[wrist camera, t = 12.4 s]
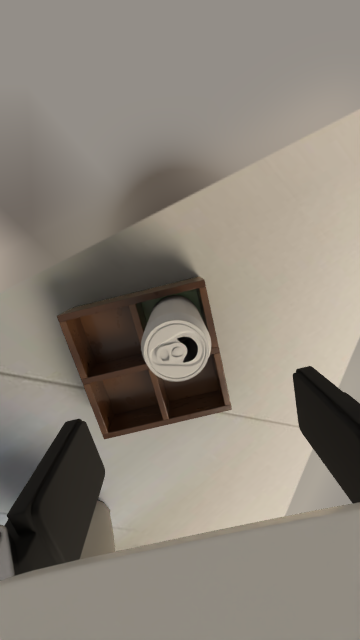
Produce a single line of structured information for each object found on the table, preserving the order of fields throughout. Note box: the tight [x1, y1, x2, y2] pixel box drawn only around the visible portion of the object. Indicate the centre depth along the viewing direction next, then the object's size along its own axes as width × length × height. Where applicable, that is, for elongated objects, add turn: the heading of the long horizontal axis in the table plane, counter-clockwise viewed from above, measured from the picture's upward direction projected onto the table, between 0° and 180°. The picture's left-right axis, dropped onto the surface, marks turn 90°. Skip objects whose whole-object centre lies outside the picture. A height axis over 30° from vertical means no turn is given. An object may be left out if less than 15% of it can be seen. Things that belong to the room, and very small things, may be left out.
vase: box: [80, 501, 115, 559], centre depth 29 cm, size 14×14×25 cm
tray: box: [57, 277, 232, 439], centre depth 32 cm, size 17×17×5 cm
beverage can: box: [141, 295, 211, 382], centre depth 26 cm, size 6×6×12 cm
